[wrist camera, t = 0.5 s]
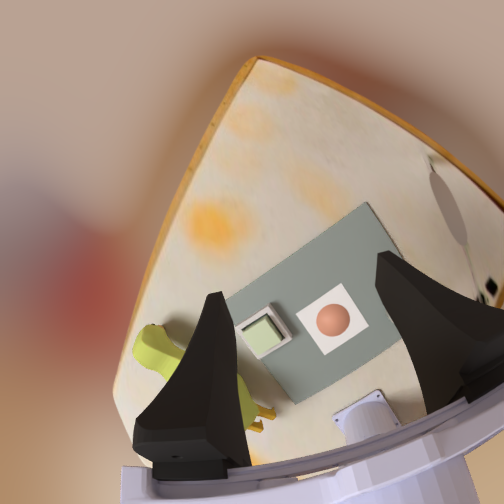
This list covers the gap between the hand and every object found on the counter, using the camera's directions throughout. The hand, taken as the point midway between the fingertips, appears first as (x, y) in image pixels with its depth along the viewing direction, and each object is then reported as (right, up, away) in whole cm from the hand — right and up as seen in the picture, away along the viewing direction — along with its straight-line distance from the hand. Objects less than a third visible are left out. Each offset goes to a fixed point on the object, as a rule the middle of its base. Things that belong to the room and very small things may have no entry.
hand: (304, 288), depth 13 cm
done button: (-1, -8, +24) cm, 26 cm away
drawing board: (+8, -6, +24) cm, 26 cm away
